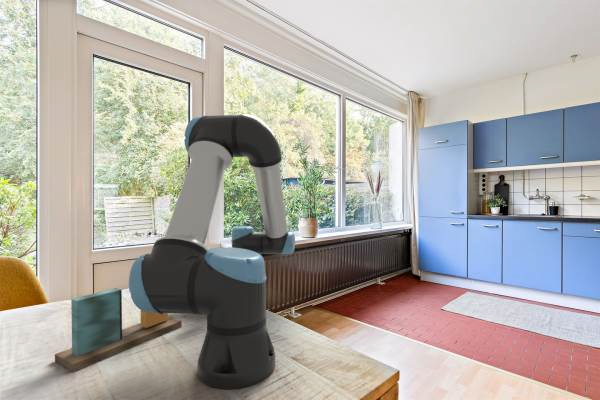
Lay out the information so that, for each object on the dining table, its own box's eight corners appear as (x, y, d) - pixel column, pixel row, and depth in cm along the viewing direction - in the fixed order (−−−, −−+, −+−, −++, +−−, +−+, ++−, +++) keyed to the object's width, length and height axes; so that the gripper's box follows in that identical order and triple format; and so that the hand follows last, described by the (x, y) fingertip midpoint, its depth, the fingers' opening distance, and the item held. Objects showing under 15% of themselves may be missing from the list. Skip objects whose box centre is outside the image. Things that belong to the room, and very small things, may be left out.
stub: (162, 318, 82) (161, 276, 82) (168, 319, 81) (167, 278, 81) (140, 326, 77) (140, 282, 77) (146, 328, 76) (145, 283, 76)
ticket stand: (162, 320, 86) (162, 274, 86) (181, 326, 81) (181, 277, 81) (54, 361, 64) (54, 299, 64) (72, 372, 60) (71, 306, 60)
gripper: (252, 294, 94) (196, 318, 75) (196, 283, 107) (137, 301, 88) (252, 270, 94) (196, 287, 75) (196, 262, 107) (136, 275, 88)
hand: (164, 295), depth 82 cm, fingers open, 13 cm apart
